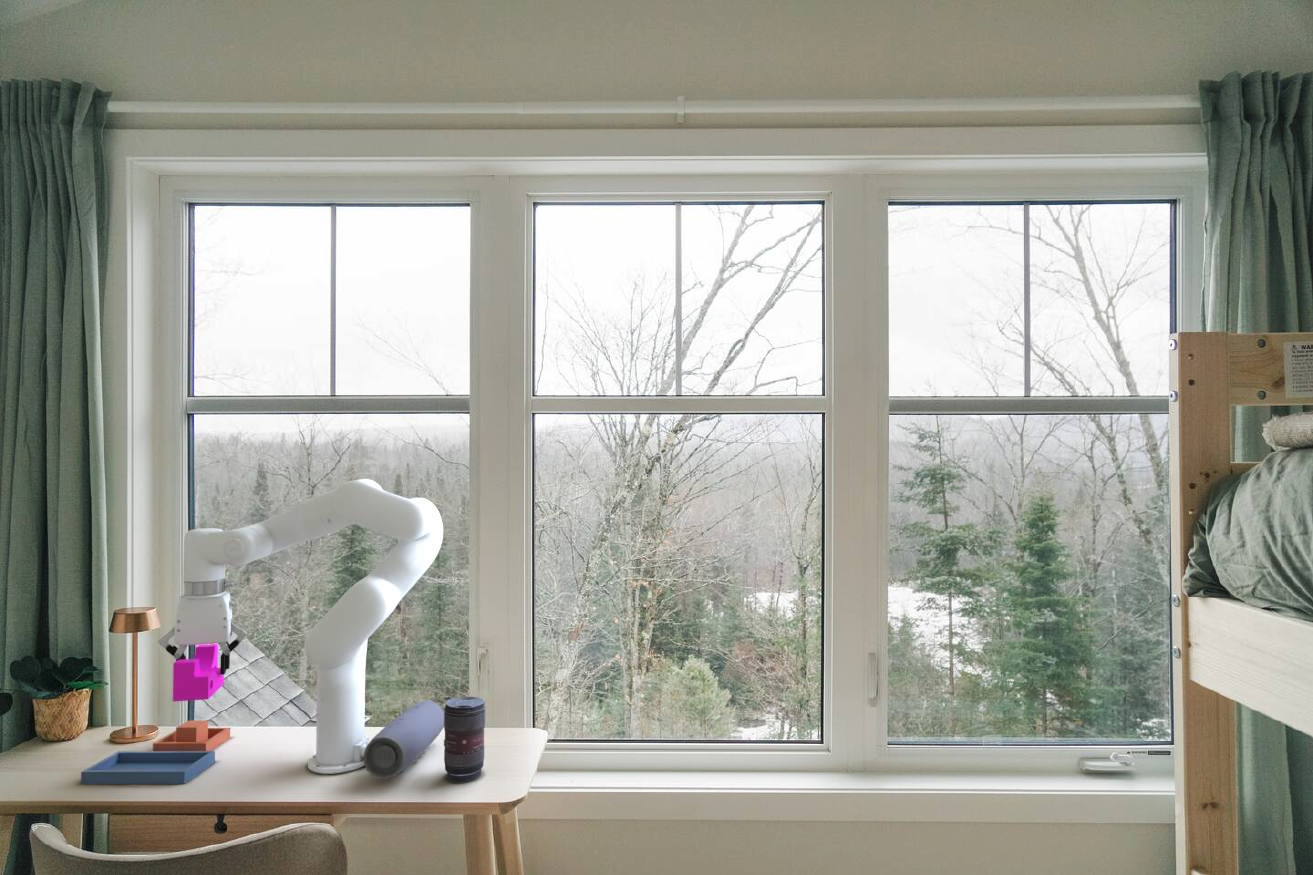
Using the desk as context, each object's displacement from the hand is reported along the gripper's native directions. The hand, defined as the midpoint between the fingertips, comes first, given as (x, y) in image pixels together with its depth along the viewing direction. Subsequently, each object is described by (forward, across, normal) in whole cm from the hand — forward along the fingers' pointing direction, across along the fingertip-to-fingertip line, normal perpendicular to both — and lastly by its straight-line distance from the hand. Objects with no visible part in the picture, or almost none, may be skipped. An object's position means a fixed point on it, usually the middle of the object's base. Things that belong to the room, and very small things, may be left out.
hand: (203, 673), depth 160 cm
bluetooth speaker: (+20, -40, +12) cm, 46 cm away
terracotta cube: (+19, +4, -16) cm, 26 cm away
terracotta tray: (+20, +4, -16) cm, 26 cm away
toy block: (+3, 0, 0) cm, 3 cm away
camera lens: (+20, -50, +24) cm, 59 cm away
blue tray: (+20, +10, -2) cm, 22 cm away
